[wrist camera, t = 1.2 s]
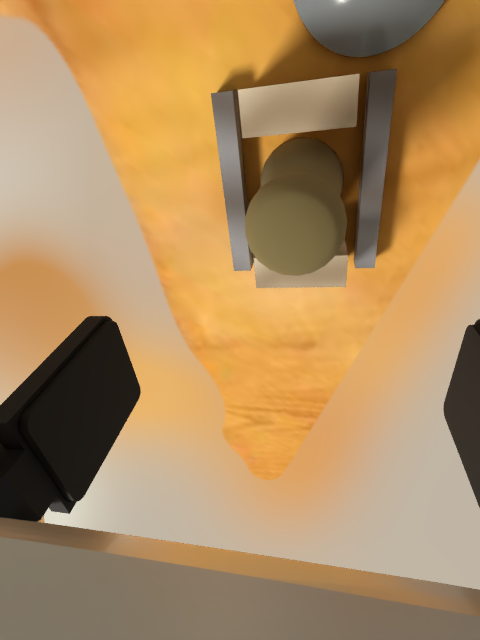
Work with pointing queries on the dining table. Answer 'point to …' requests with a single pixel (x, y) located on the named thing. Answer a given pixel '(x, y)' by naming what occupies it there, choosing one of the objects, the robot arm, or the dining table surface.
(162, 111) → the dining table surface
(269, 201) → the pepper mill
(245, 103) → the grey and cream frame
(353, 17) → the coaster
